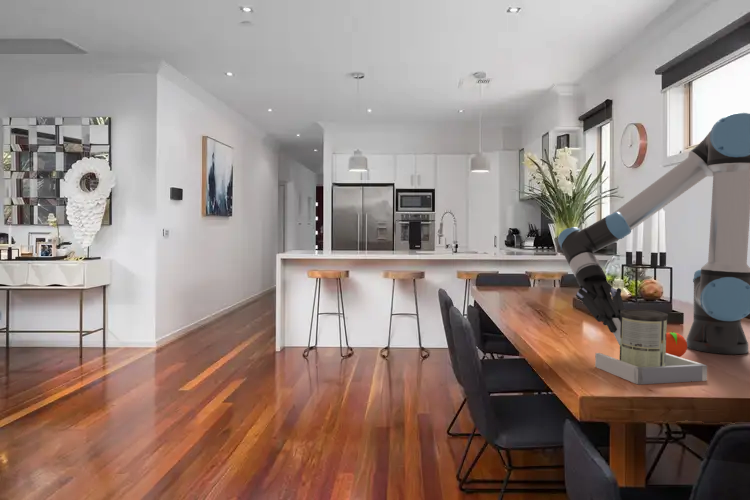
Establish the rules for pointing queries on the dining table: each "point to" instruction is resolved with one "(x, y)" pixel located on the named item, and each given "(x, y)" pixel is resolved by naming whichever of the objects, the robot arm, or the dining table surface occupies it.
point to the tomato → (675, 344)
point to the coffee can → (643, 337)
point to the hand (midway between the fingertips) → (624, 341)
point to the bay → (654, 370)
